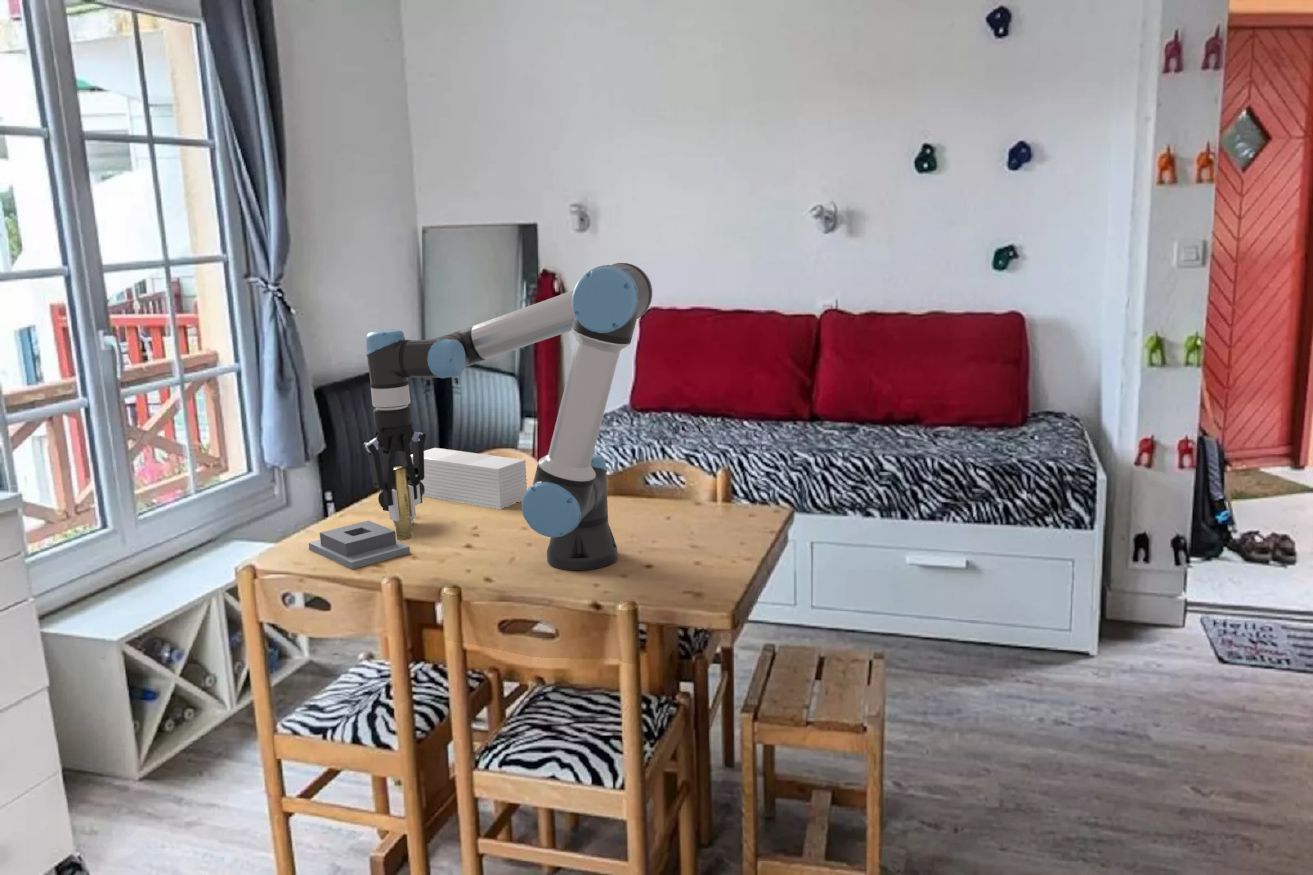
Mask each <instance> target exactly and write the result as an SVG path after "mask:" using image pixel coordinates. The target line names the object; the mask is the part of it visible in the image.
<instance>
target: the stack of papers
mask: <svg viewBox="0 0 1313 875" xmlns="http://www.w3.org/2000/svg"><path fill="white" fill-rule="evenodd" d="M410 455H411V459H412V463H413V453H411V454H410ZM421 482H422V483H423V485H424V488H425V492H424V494H423V495H422V497H425V498H431V499H437V500H444V501H449V502H456V503H460V502H464V503H463V504H466V503H468V505H472V504H473V506H478V505H479V506H478V507H483V508H489V507H491V509H495V508H496V509H497V510H502V508H503V509H505V508H504V507H506V508H508V507H511V506H513V505H515V504H514V503H516V502H519V503H521V502H522V500H523V497H524V495H525V493H526V491H527V490H528V486H527V485H528V483H527V482H528V480H527V464H526V459H523V458H522V459H521V458H515V457H508V456H507V457H506V456H505V457H504V456H498V455H491V454H484V453H476V452H469V451H462V450H455V449H446V448H440V447H433V448H429V449H426V450H424V479H423V480H421ZM520 501H521V502H520ZM512 504H513V505H512ZM516 504H517V503H516ZM510 505H511V506H510Z"/></svg>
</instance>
